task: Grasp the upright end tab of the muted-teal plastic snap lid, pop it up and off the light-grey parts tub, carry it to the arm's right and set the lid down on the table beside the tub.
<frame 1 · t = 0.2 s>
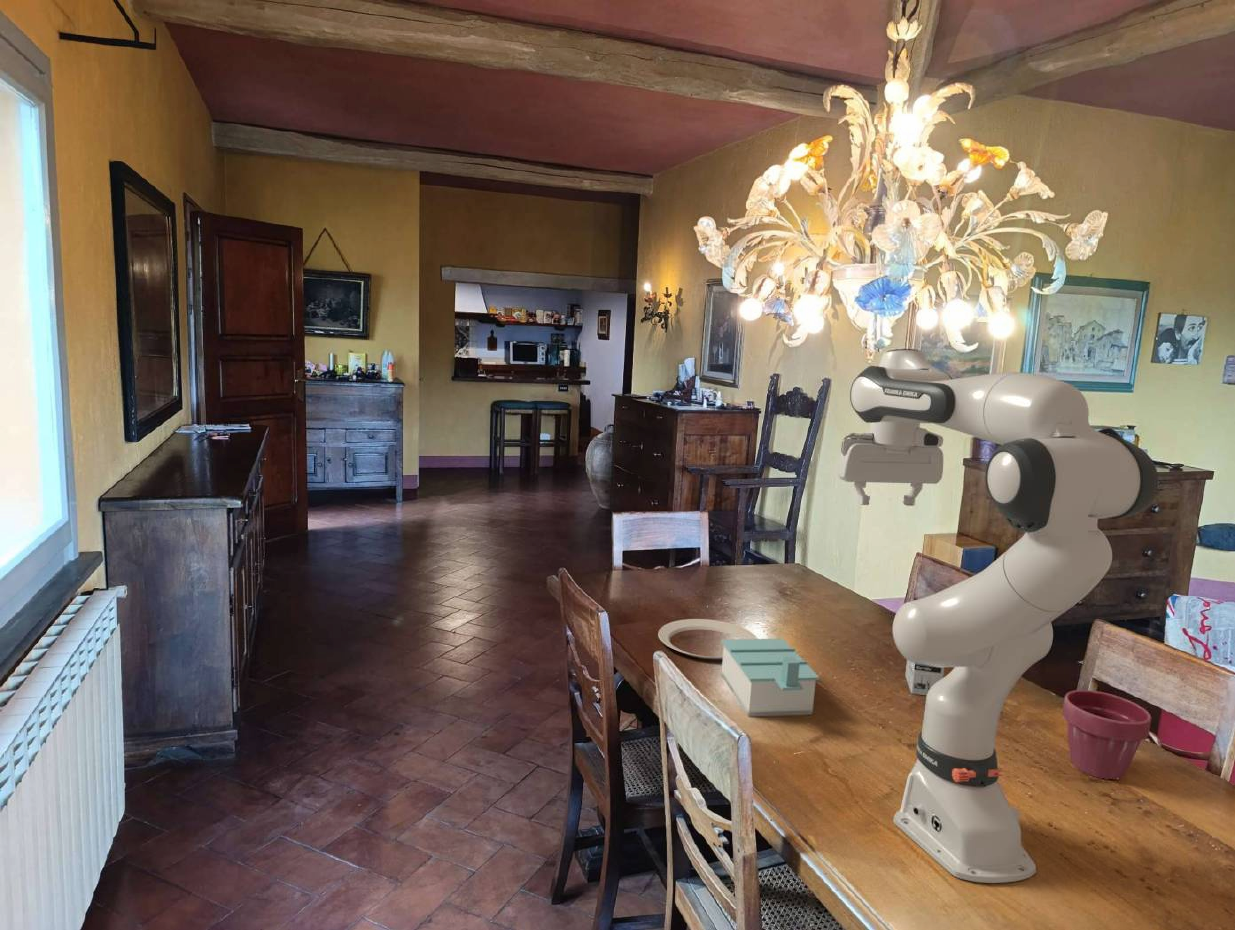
hand: (886, 504, 158), 47 cm above the table, fingers open, 8 cm apart
lid: (767, 660, 179), point 8 cm above the table, touching tub
beige flat ring: (707, 645, 208), on the table
plant pot: (1096, 768, 156), on the table
light bulb box: (922, 687, 189), on the table
tub: (764, 694, 180), on the table
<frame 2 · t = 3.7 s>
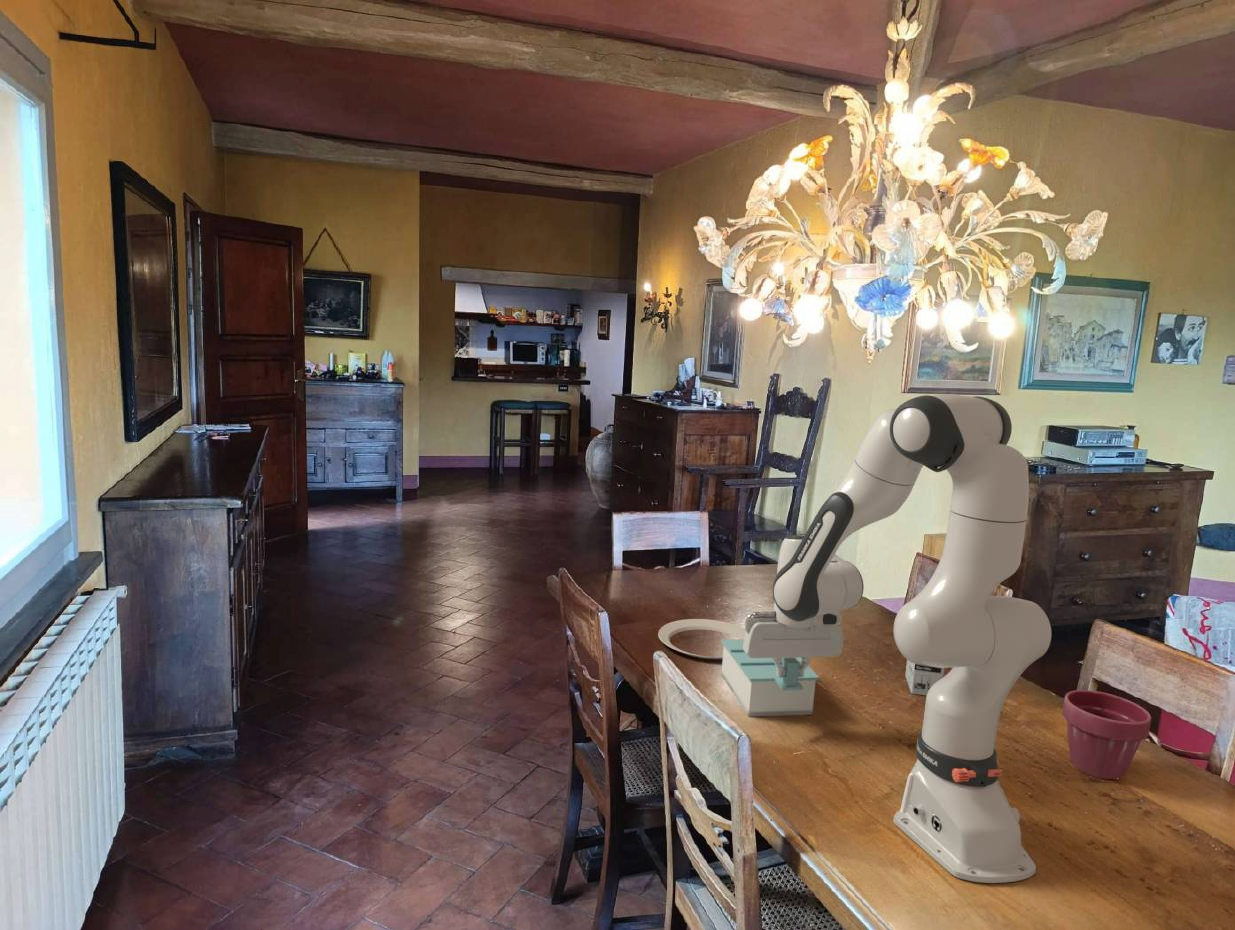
hand: (789, 676, 166), 10 cm above the table, fingers closed on lid, 2 cm apart
lid: (767, 660, 179), point 8 cm above the table, touching gripper, tub
everything else where it was.
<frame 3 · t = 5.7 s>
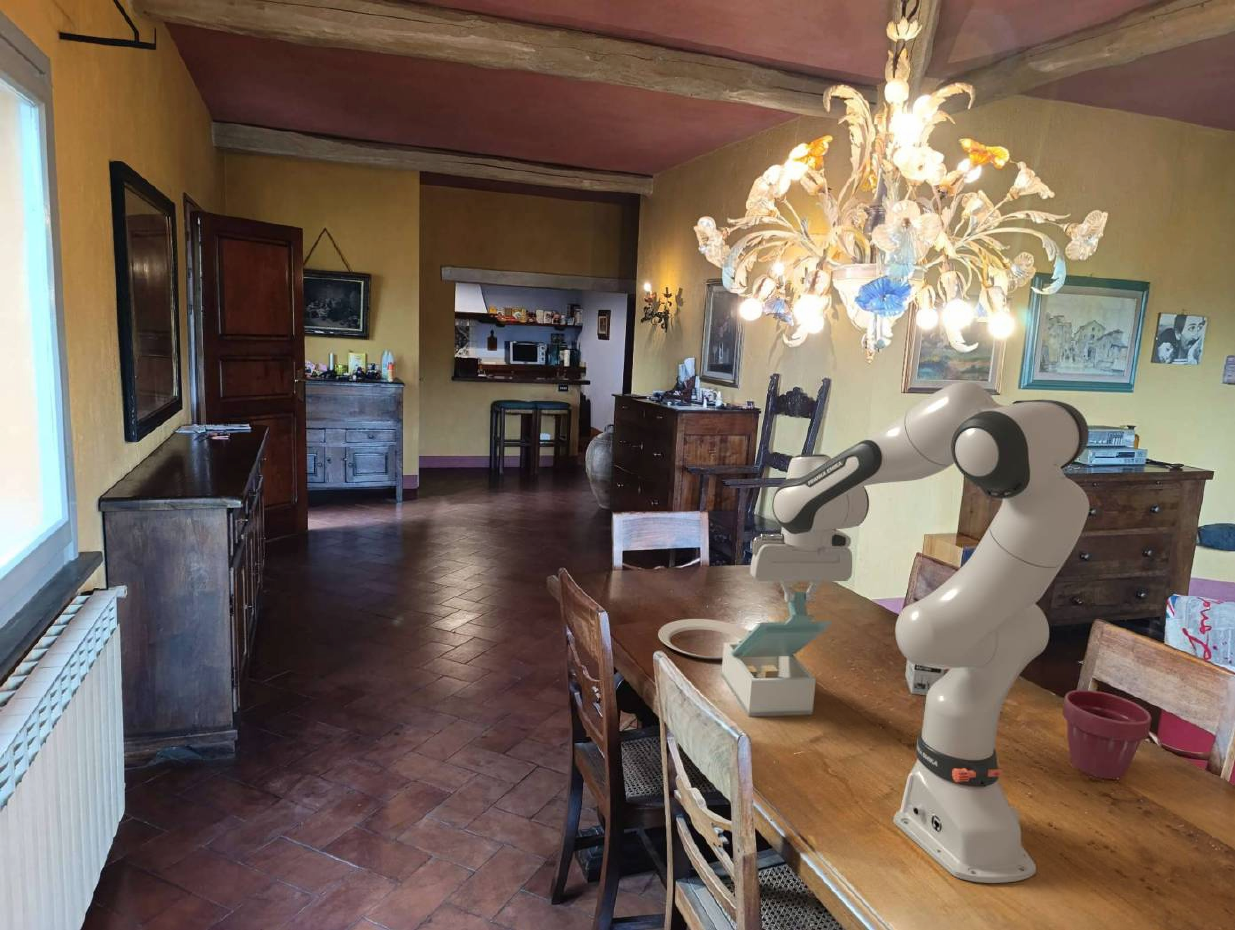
hand: (798, 601, 163), 26 cm above the table, fingers closed on lid, 2 cm apart
lid: (778, 640, 172), point 15 cm above the table, tilted 39°, touching gripper
everything else where it was.
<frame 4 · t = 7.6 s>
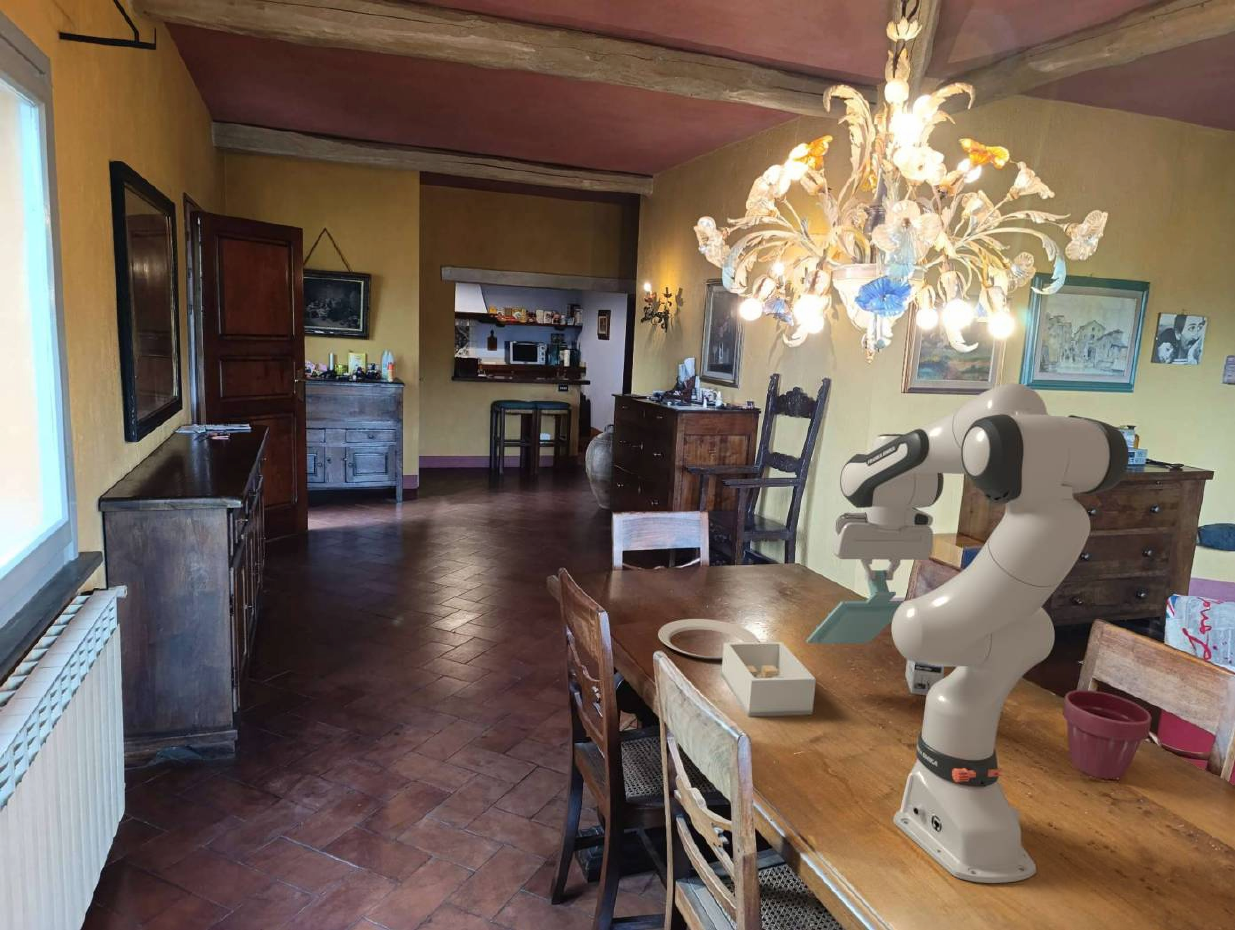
hand: (878, 579, 165), 31 cm above the table, fingers closed on lid, 2 cm apart
lid: (856, 624, 174), point 18 cm above the table, tilted 44°, touching gripper
everything else where it was.
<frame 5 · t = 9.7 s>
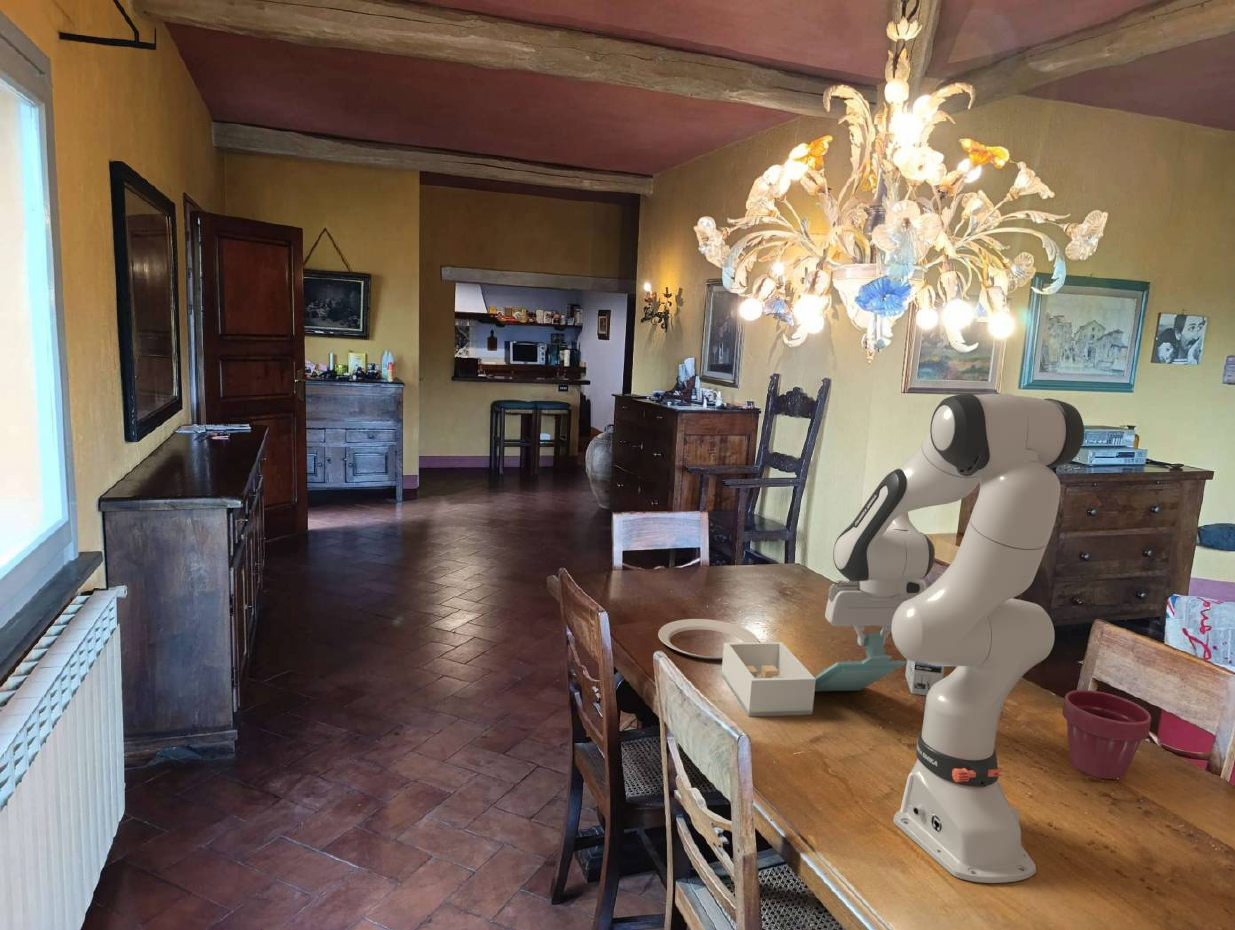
hand: (870, 644, 168), 17 cm above the table, fingers closed on lid, 2 cm apart
lid: (851, 676, 176), point 6 cm above the table, tilted 39°, touching gripper
everything else where it was.
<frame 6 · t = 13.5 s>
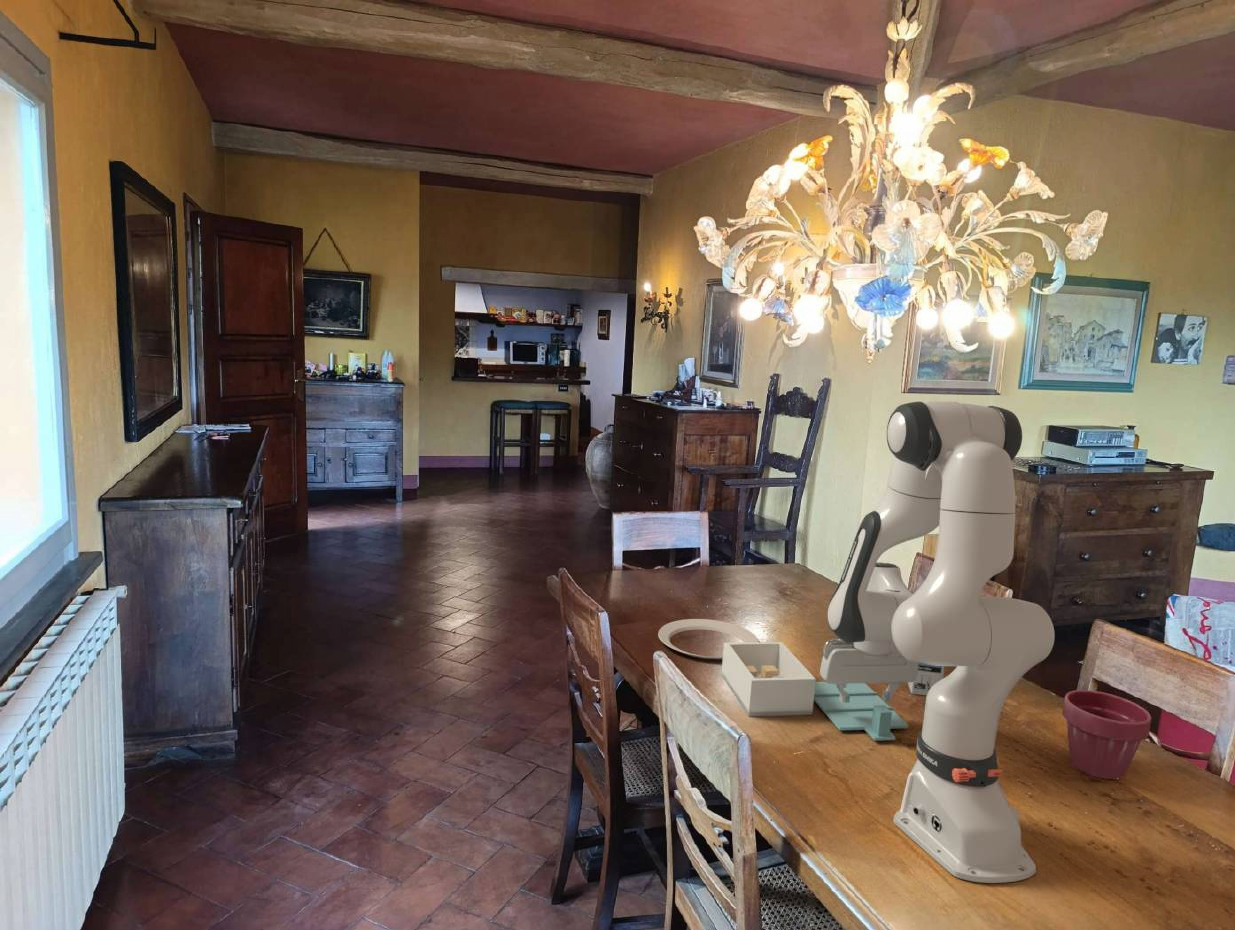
hand: (865, 701, 169), 4 cm above the table, fingers open, 8 cm apart
lid: (851, 705, 176), point 1 cm above the table
everything else where it was.
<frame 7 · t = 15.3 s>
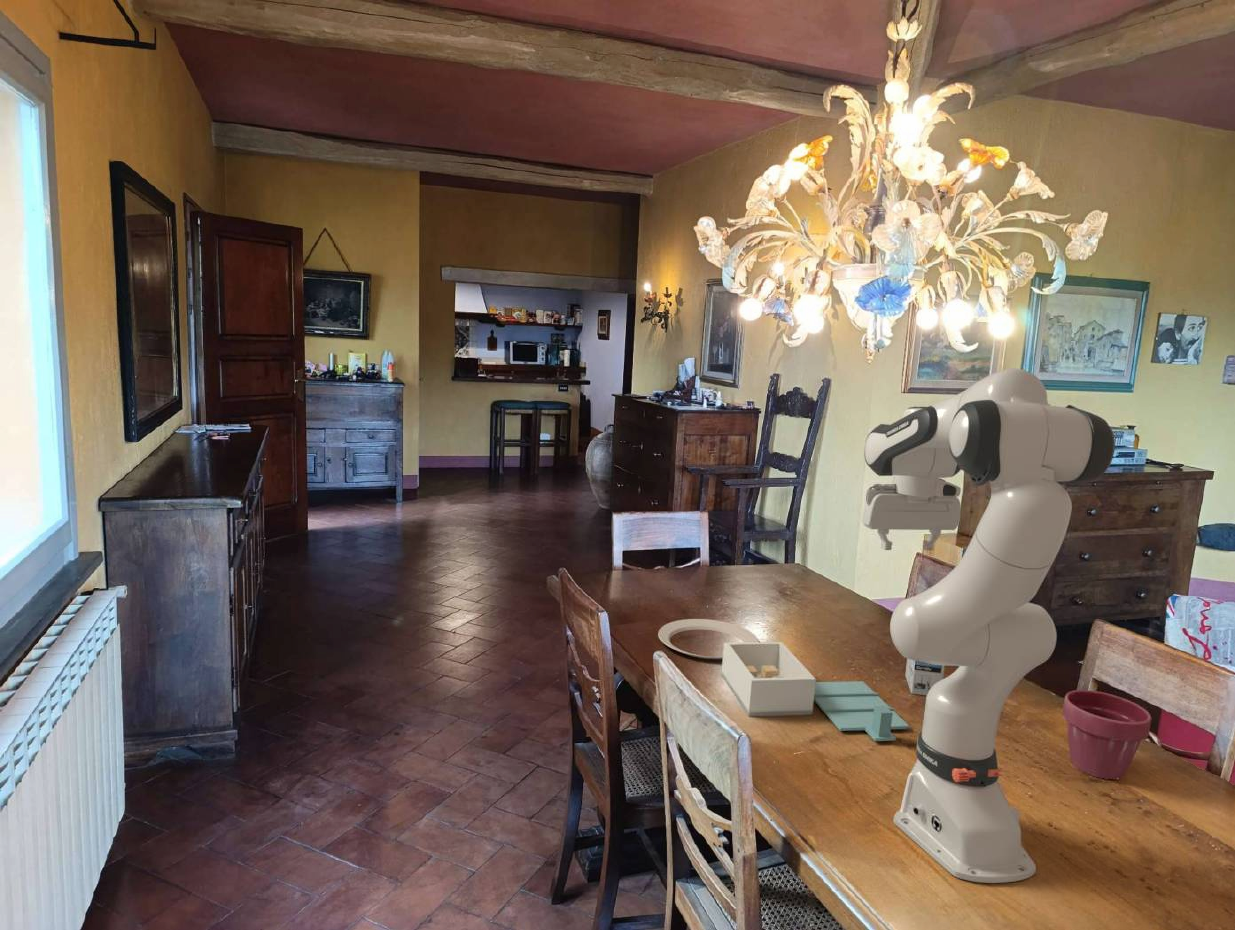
hand: (907, 549, 170), 36 cm above the table, fingers open, 8 cm apart
nothing on the table moved.
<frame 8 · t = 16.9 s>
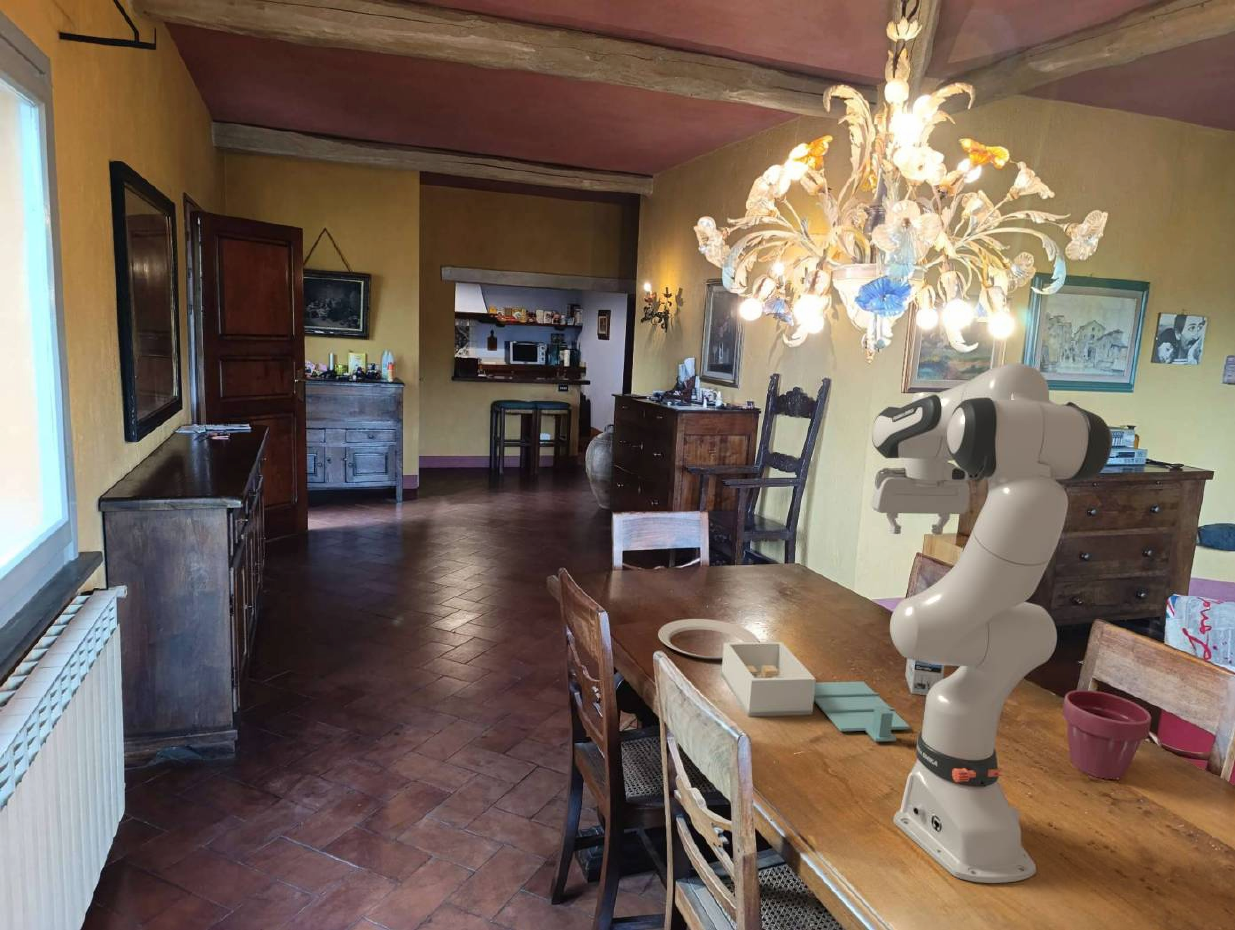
hand: (916, 533, 170), 39 cm above the table, fingers open, 8 cm apart
nothing on the table moved.
at the end: lid point 0.6 cm above the table; lid inside the target area on the table beside the tub (8.6 cm from its centre), point 0.6 cm above the table; the gripper is holding nothing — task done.
